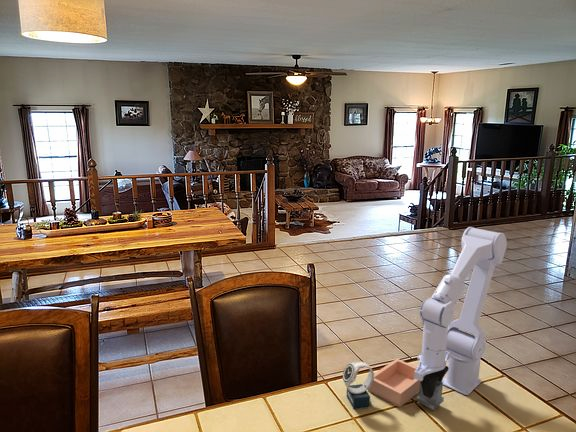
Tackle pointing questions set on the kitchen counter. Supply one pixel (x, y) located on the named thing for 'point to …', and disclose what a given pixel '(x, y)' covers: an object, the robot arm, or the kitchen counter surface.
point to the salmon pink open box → (395, 382)
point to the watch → (357, 392)
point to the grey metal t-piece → (436, 397)
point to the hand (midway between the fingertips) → (430, 393)
